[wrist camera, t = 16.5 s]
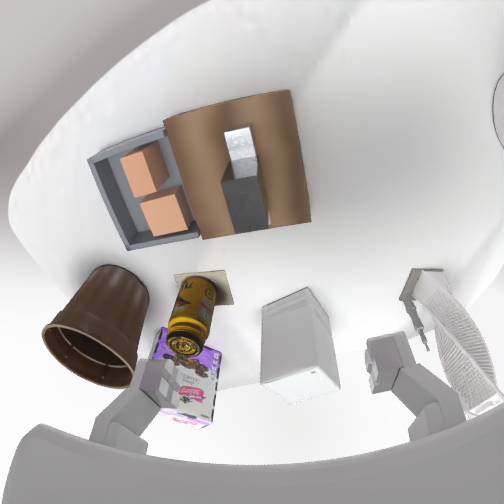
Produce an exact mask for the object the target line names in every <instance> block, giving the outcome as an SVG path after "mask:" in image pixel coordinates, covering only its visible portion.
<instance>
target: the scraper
mask: <svg viewBox="0 0 504 504" xmlns="http://www.w3.org/2000/svg"><path fill="white" fill-rule="evenodd" d="M224 135H225V139H226V142H227V146H228V150H229V154H230V157H231V161H229V162H228V165H227V167H226V170H225V172H224V174H223V177H222V179H221V182H220V183H221V187H222V190H223V194H224V197H225V200H226V204H227V207H228V211H229V214H230V218H231V221H232V224H233V228H234V231H235V234H238V233H244V232H250V231H256V230H262V229H268V228H269V225H270V224H271V211H270V206H269V201H268V196H267V192H266V187H265V183H264V178H263V174H262V169H261V165H260V160H259V156H258V152H257V148H256V143H255V139H254V135H253V130H252V126H251V123H247V124H242V125H237V126H233V127H228V128H227V129H226V131H225V132H224Z"/></svg>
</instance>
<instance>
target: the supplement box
mask: <svg viewBox="0 0 504 504" xmlns="http://www.w3.org/2000/svg"><path fill="white" fill-rule="evenodd" d="M260 384H261V385H262V386H264V387H265V388H267V389H268V390H269V391H271V392H272V393H274V394H275V395H277V396H278V397H280V398H281V399H283V400H284V401H286V402H287V403H289V404H293V403H297V402H301V401H304V400H308V399H311V398H315V397H318V396H322V395H326V394H329V393H332V392H335V391H338V390H340V381H339V374H338V368H337V362H336V356H335V350H334V345H333V339H332V334H331V329H330V323H329V318H328V316H327V314H326V313H325V311H324V310H323V308H322V307H321V306H320V304H319V303H318V301H317V300H316V298H315V297H314V296H313V294H312V293H311V291H310V290H309V289H308V288H305V289H303V290H301V291H299V292H297V293H294V294H292V295H290V296H287V297H285V298H283V299H281V300H278V301H276V302H274V303H271V304H269V305H267V306H264V307H262V337H261V372H260Z"/></svg>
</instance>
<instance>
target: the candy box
mask: <svg viewBox="0 0 504 504" xmlns="http://www.w3.org/2000/svg"><path fill="white" fill-rule="evenodd" d="M168 331H169V330H168V329H166V328H164V327H162V328H161V330H160V331H159V333H158V334H157V335H156V337H155V338H154V341H153V345H152V348H151V351H150V354H149V357H148V359H171V360H172V361H173V362H174V367H176V368H178V369H179V370H180V371H181V374H182V379H183V383H182V388H181V389H180V390H179V391H178V394H179V396H180V398H179V403H178V408H177V409H172V408H161V410H160V411H159V412H158V414H157V415H160V416H163V417H165V418H168V419H171V420H173V421H176V422H179V423H183V424H185V425H189V426H192V427H195V428H197V429H202V428H204V427H206V426H208V425H210V424H212V421H213V414H214V406H215V399H216V391H217V384H218V377H219V370H220V363H221V356H222V353H220V352H217V351H215V350H213V349H210V348H208V347H206V346H204V347H203V348H204V349H203V351H202V352H201V353H200V354H199V355H198V356H196V357H184V356H180V355H178V354H176V353H174V352H173V351H171V350H170V349H169V348H168V346H167V344H166V338H167V336H168Z"/></svg>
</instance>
